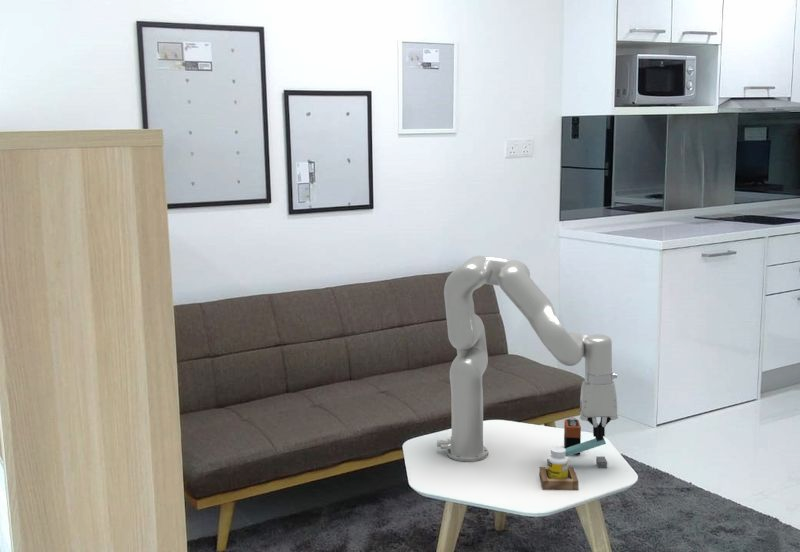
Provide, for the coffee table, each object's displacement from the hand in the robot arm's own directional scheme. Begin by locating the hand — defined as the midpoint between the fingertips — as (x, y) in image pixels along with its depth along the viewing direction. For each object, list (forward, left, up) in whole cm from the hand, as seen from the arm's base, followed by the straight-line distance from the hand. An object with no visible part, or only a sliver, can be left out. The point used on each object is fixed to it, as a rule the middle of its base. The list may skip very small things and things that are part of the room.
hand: (598, 438), depth 247 cm
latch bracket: (-6, 0, -8) cm, 10 cm away
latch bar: (-5, 0, -4) cm, 7 cm away
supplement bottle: (-13, -12, -9) cm, 20 cm away
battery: (-6, +11, -9) cm, 15 cm away
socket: (-13, -12, -8) cm, 20 cm away
